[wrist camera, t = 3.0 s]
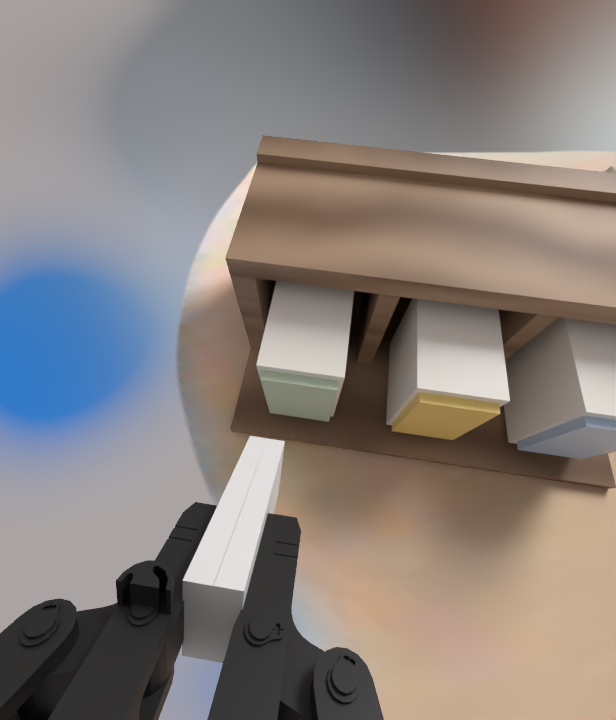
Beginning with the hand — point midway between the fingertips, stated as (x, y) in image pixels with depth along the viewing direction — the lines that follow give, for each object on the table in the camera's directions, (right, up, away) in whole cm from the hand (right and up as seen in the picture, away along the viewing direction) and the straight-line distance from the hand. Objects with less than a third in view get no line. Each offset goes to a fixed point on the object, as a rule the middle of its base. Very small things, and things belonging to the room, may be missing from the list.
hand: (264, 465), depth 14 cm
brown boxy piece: (+11, +4, +14) cm, 18 cm away
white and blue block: (+20, +1, +11) cm, 23 cm away
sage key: (+2, +3, +12) cm, 13 cm away
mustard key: (+11, +2, +12) cm, 16 cm away
